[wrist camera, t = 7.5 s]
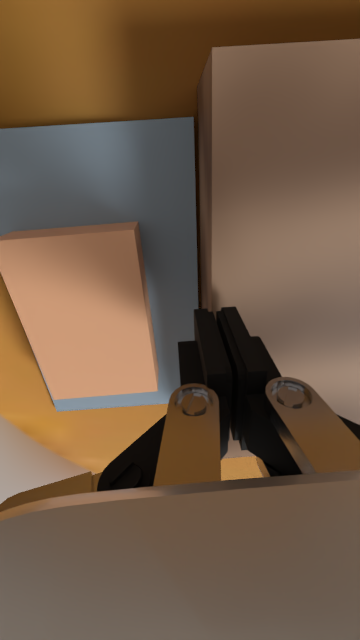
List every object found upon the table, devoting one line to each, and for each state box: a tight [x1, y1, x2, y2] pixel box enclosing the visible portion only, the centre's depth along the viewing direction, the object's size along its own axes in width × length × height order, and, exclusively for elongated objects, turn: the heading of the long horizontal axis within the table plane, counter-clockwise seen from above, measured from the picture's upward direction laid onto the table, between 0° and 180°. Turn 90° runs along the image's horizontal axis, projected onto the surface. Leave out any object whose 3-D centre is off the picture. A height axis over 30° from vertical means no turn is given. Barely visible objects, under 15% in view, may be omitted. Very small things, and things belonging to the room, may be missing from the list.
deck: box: [197, 39, 360, 459], centre depth 13 cm, size 18×10×4 cm, turn 3°
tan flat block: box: [0, 221, 159, 400], centre depth 14 cm, size 9×6×2 cm, turn 4°
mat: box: [0, 117, 198, 411], centre depth 15 cm, size 16×10×1 cm, turn 3°
